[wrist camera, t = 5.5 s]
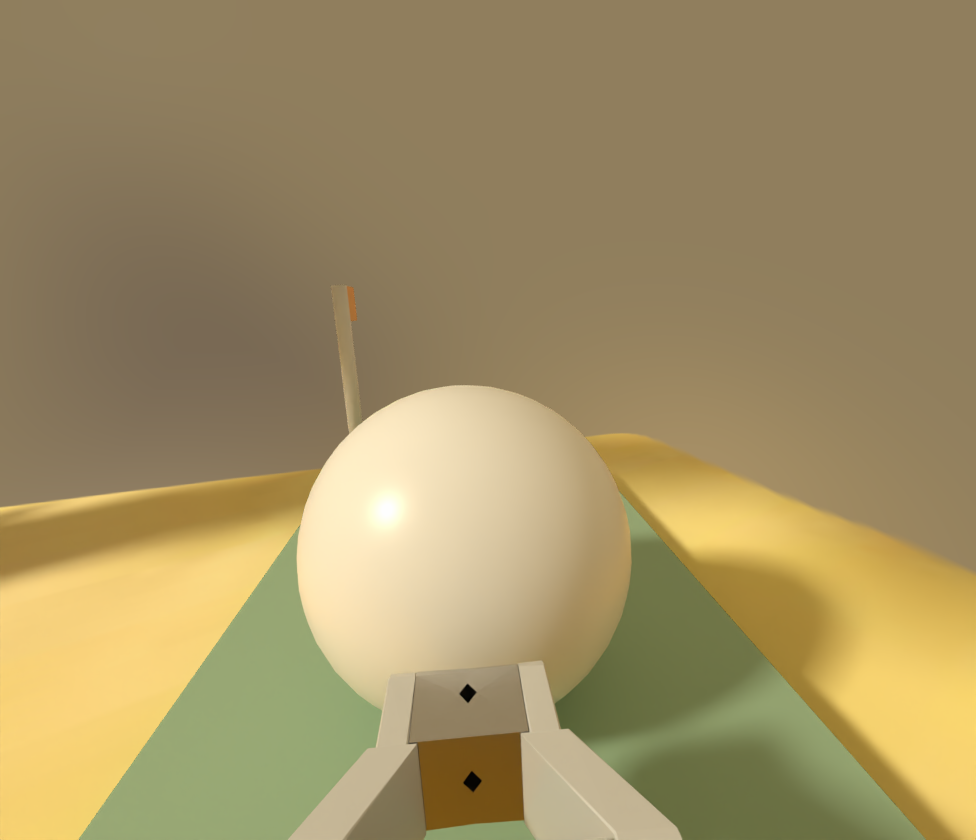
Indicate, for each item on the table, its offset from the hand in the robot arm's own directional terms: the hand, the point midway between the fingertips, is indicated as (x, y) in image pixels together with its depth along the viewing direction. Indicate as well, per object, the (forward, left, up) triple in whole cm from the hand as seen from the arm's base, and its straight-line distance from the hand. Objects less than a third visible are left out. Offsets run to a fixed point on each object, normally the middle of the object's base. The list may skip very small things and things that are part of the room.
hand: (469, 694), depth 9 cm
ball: (-4, +4, 0) cm, 6 cm away
